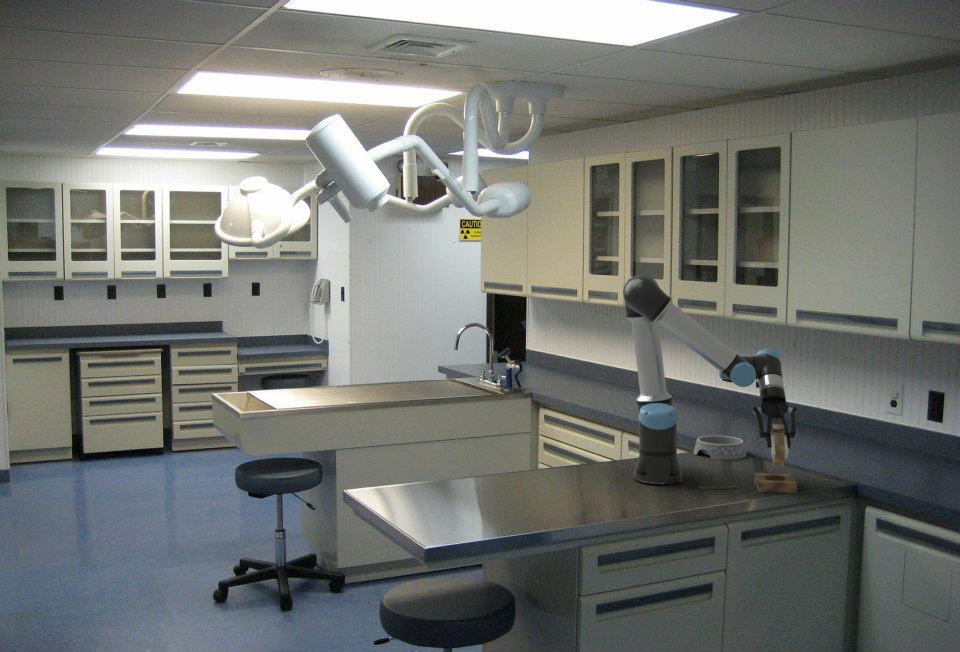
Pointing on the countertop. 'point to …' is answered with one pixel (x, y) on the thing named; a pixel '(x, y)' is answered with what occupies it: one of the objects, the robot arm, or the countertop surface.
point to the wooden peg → (778, 444)
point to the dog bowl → (721, 447)
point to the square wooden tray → (775, 483)
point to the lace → (720, 487)
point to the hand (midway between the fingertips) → (780, 455)
